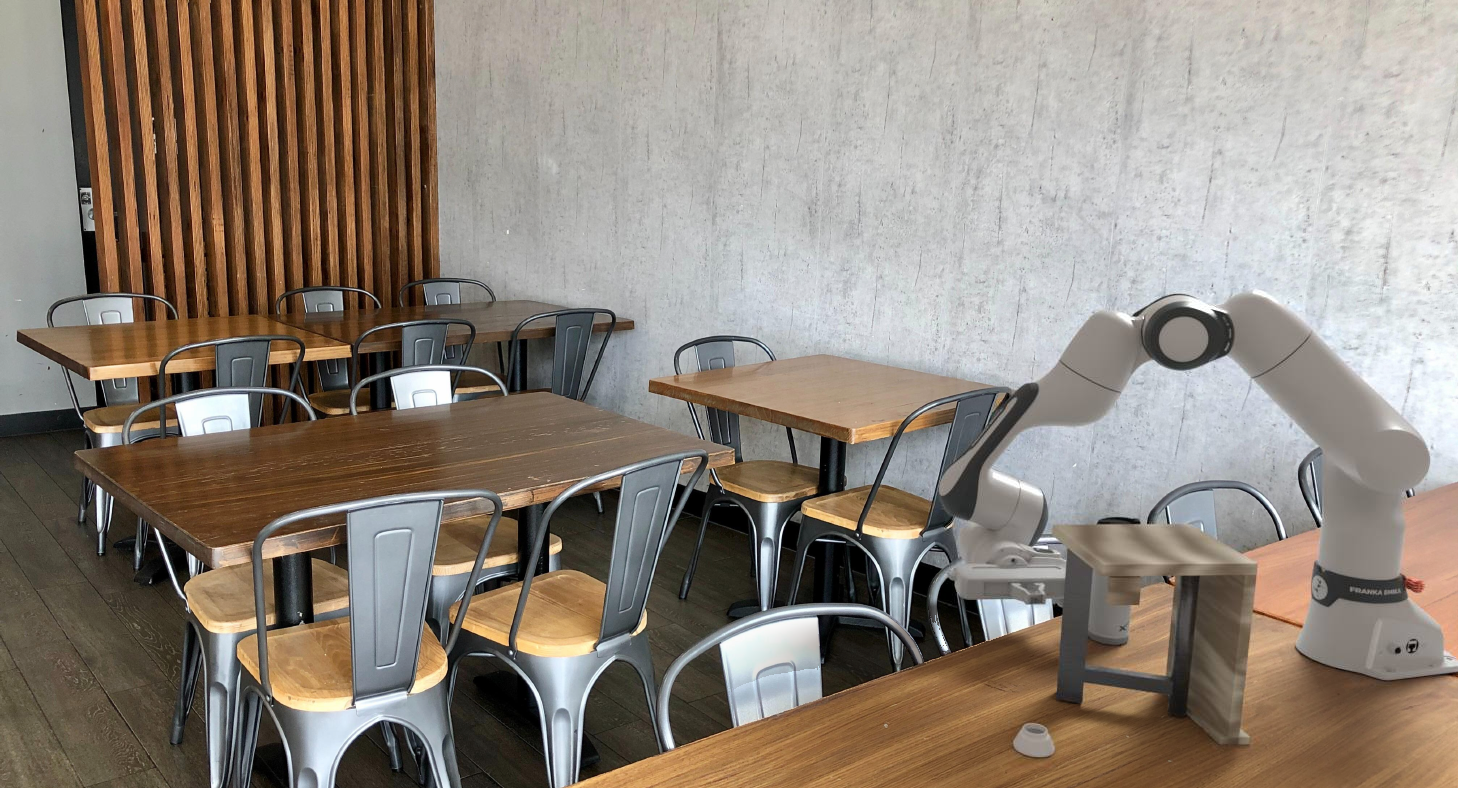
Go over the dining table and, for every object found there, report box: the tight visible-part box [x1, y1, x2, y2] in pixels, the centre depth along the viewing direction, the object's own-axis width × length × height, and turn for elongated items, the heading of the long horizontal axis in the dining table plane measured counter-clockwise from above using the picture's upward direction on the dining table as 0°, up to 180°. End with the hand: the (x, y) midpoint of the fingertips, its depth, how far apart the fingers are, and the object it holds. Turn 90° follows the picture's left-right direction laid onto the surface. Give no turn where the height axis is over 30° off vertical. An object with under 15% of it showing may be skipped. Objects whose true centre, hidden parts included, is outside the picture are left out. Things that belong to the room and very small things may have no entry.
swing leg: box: [1055, 547, 1200, 717], centre depth 147 cm, size 17×4×22 cm, turn 71°
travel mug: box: [1088, 516, 1142, 646], centre depth 171 cm, size 6×7×20 cm
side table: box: [1051, 523, 1259, 746], centre depth 144 cm, size 22×17×24 cm
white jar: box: [1012, 722, 1056, 758], centre depth 136 cm, size 5×3×5 cm
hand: (1036, 599), depth 161 cm, fingers closed
